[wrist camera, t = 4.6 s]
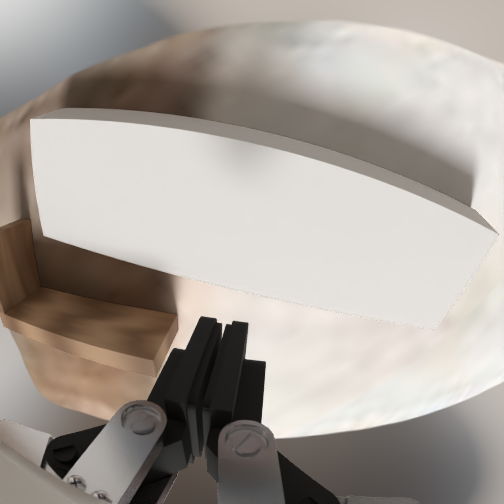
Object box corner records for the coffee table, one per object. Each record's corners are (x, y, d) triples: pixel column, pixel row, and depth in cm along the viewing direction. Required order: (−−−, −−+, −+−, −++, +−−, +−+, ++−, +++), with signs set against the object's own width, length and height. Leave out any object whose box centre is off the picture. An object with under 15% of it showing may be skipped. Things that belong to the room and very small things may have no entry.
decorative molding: (418, 292, 24) (469, 204, 18) (433, 329, 20) (499, 234, 14) (73, 209, 23) (70, 106, 17) (43, 235, 19) (30, 119, 13)
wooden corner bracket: (176, 231, 20) (143, 260, 14) (178, 330, 23) (155, 377, 17) (21, 218, 20) (-22, 236, 15) (34, 297, 23) (0, 324, 18)
